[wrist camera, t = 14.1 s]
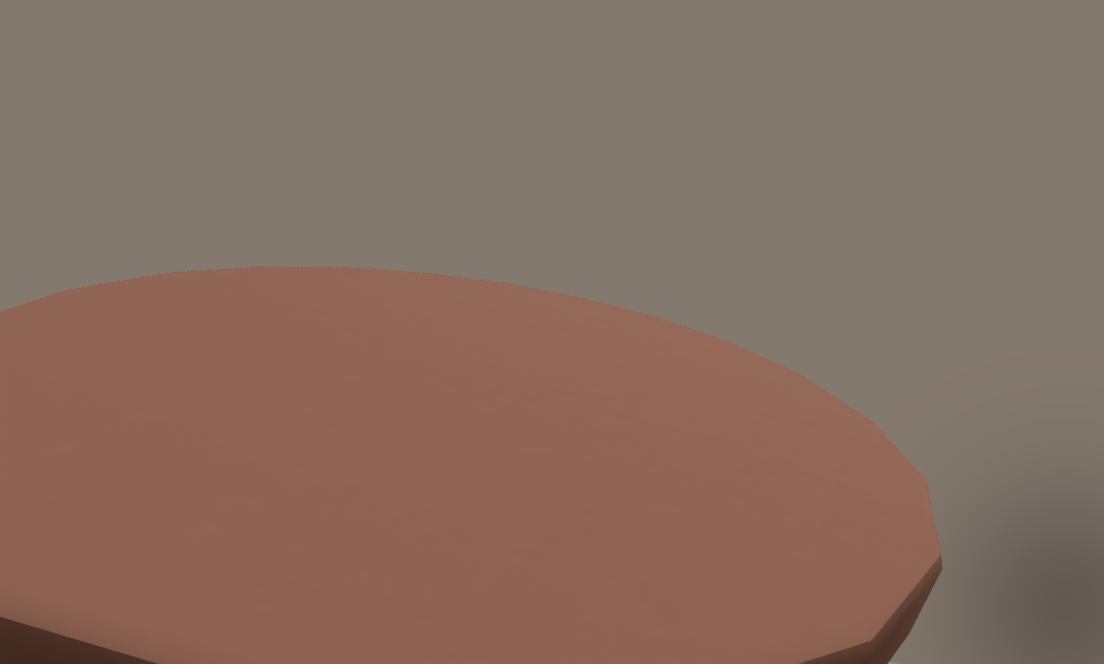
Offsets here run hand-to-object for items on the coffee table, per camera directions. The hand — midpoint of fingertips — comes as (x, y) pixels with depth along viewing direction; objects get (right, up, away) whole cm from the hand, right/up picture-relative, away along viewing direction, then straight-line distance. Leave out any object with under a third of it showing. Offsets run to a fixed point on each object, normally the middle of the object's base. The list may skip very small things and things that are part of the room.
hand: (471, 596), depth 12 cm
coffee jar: (-2, -12, 0) cm, 12 cm away
